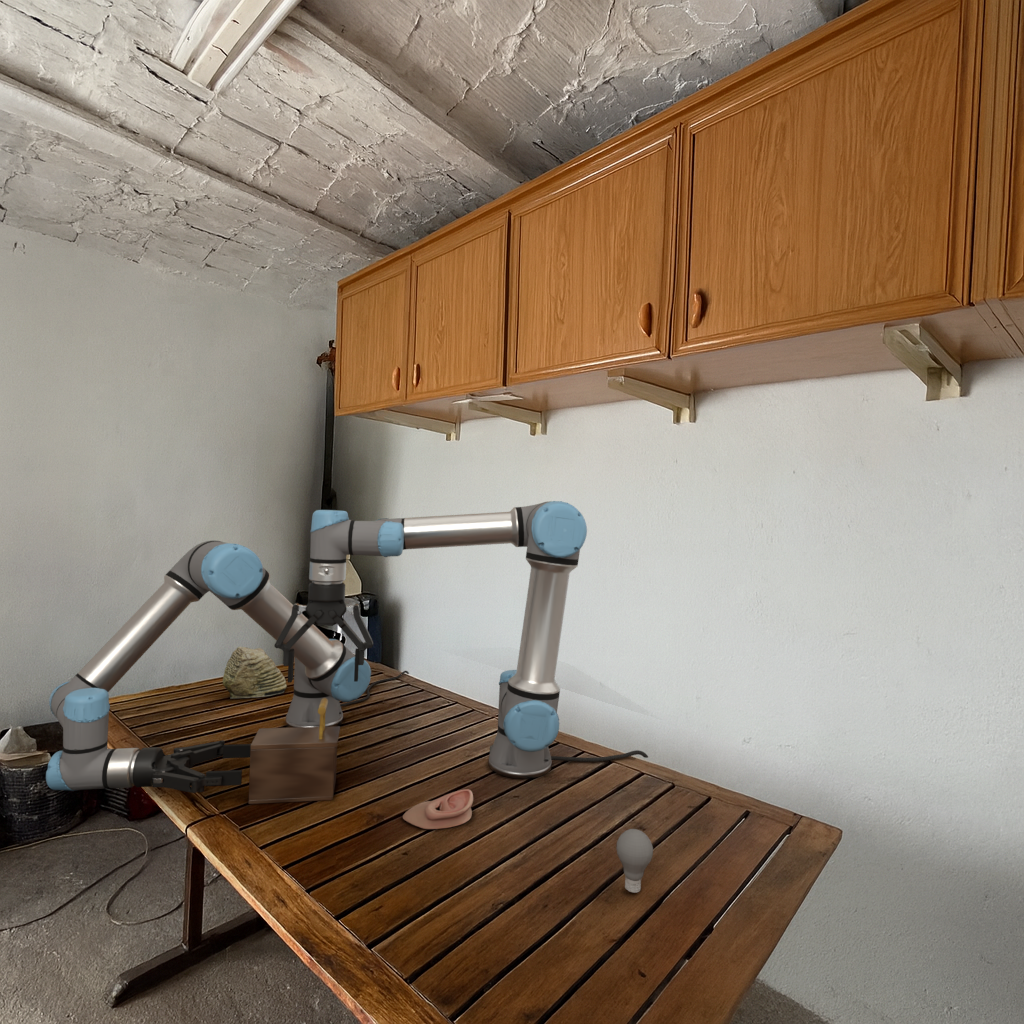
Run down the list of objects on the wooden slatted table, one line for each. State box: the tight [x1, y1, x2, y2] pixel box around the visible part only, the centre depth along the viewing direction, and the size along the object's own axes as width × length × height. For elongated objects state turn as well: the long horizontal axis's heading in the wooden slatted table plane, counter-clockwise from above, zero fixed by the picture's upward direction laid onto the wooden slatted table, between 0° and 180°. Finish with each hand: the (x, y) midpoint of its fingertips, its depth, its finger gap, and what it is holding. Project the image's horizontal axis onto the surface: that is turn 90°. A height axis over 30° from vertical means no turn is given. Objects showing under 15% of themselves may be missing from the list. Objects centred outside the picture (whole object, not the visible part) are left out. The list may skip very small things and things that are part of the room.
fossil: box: [222, 646, 288, 699], centre depth 198 cm, size 9×18×15 cm, turn 132°
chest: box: [248, 746, 338, 805], centre depth 135 cm, size 17×9×11 cm, turn 102°
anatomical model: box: [402, 788, 474, 830], centre depth 128 cm, size 13×4×12 cm
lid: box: [250, 698, 341, 750], centre depth 135 cm, size 17×9×8 cm, turn 102°
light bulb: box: [615, 828, 654, 894], centre depth 106 cm, size 6×6×10 cm
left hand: (248, 763), depth 133 cm, fingers open, 13 cm apart
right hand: (323, 680), depth 136 cm, fingers open, 13 cm apart
